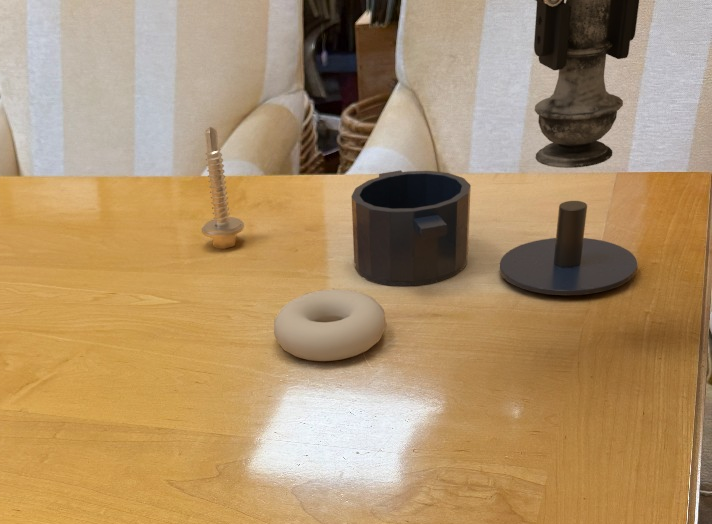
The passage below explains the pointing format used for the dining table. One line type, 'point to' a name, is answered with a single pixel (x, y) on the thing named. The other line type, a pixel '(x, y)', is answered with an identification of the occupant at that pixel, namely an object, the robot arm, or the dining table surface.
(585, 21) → the salt shaker
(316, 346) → the donut
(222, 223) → the screw
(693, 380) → the dining table surface
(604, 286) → the lid
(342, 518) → the dining table surface
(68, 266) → the dining table surface
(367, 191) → the pot
